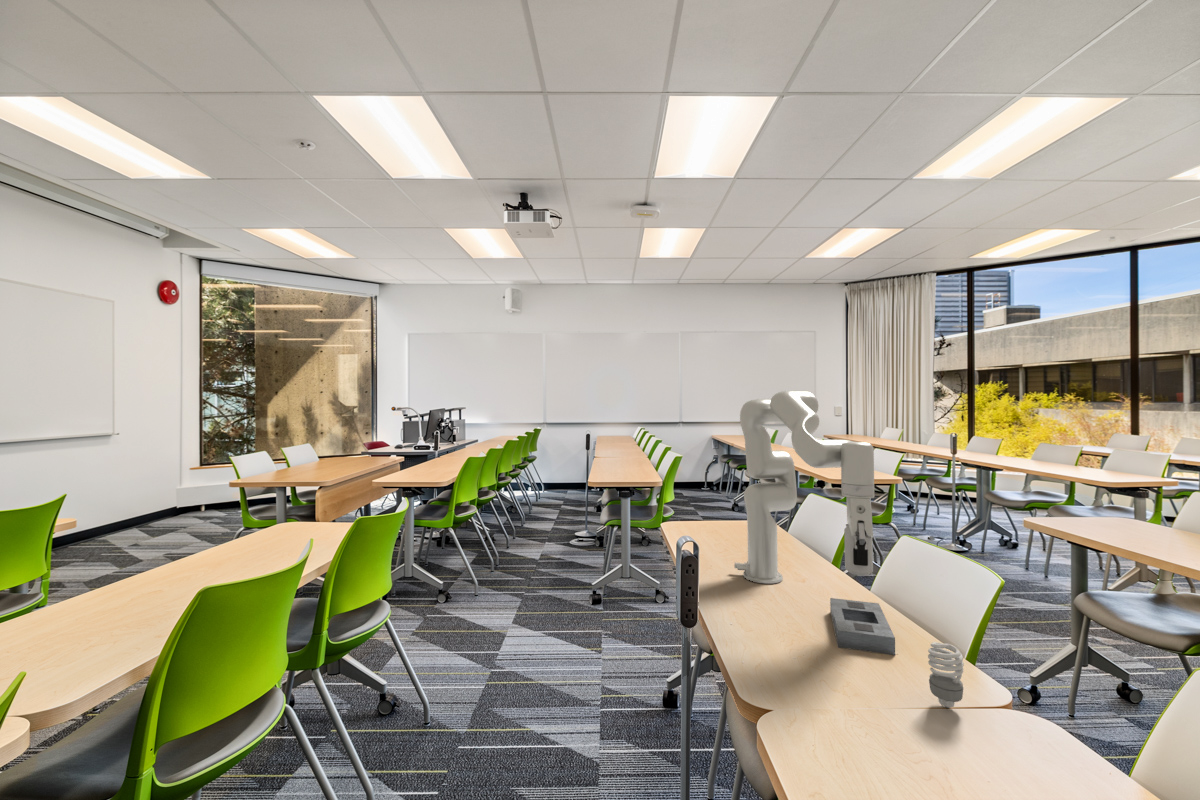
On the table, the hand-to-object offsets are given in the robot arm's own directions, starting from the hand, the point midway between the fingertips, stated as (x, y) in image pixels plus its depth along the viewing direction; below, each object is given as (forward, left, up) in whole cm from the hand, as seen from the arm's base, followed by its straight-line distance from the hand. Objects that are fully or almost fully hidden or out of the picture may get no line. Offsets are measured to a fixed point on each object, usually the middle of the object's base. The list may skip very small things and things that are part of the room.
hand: (858, 560), depth 130 cm
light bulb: (+11, -31, -18) cm, 38 cm away
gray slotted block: (0, 0, -18) cm, 18 cm away
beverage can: (0, 0, -3) cm, 3 cm away
